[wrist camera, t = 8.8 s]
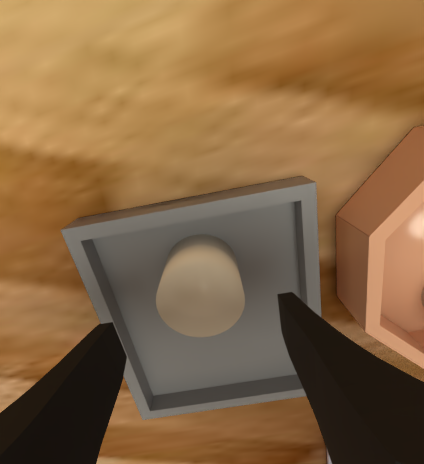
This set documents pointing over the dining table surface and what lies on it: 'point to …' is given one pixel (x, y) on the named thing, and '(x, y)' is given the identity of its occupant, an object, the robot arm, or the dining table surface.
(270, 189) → the parts tray
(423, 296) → the white marshmallow
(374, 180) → the bowl
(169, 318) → the sandy stone
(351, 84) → the dining table surface
